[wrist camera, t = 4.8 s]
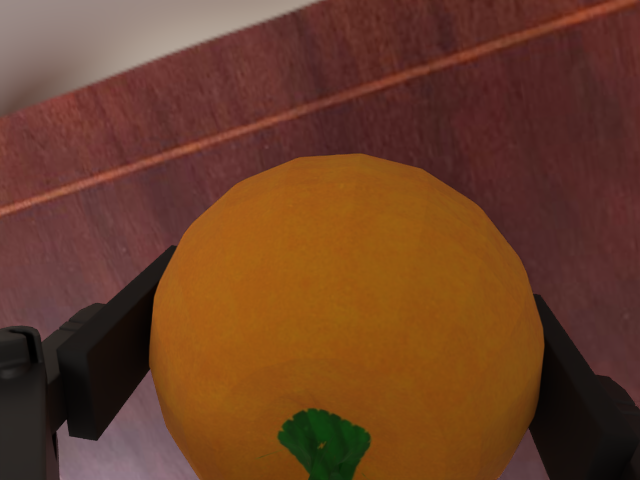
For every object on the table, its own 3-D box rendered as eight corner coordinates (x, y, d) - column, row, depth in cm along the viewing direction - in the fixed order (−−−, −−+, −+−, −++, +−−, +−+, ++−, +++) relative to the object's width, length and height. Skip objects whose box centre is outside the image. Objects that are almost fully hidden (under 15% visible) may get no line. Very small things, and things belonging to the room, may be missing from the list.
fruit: (304, 437, 21) (247, 729, 12) (147, 232, 18) (-90, 409, 9) (553, 339, 18) (742, 639, 9) (411, 66, 15) (466, 76, 6)
